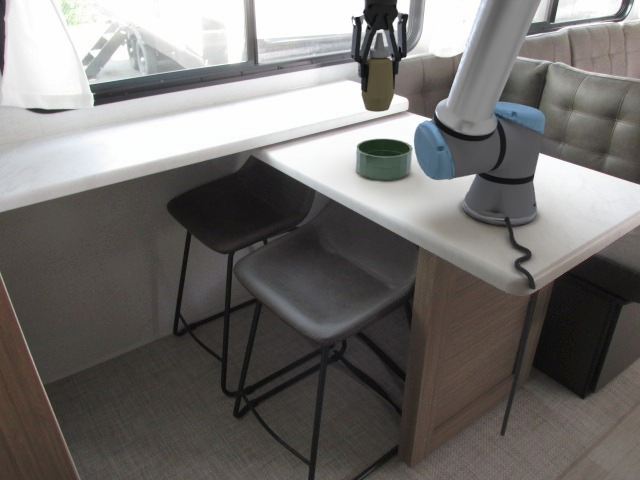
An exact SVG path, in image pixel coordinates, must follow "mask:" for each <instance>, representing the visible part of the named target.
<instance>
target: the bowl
mask: <svg viewBox="0 0 640 480" xmlns="http://www.w3.org/2000/svg"><path fill="white" fill-rule="evenodd" d="M413 150H414V147H413V146H412V145H411V144H410V143H408V142H405V141H403V140H399V139H393V138H373V139H366V140H363V141H361V142H359V143H357V144H356V147H355V170H356V172H357V173H359V175H360V176H361V177H363V178H366V179H369V180H372V181H382V182H388V181H389V182H391V181H396V180H401V179H403V178H405V177H406V176H408V175H409V174H410V173H411V170H412V163H413V162H412V161H413V152H414V151H413Z"/></svg>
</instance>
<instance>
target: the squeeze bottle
mask: <svg viewBox="0 0 640 480" xmlns="http://www.w3.org/2000/svg"><path fill="white" fill-rule="evenodd" d="M375 36H376V37H375V40H374V45H373V47H372V48H370V51H369V54H368V57H367V61H366V63H367V64H369V77H368V85H367V92H364V91H362V90H361V98H362V102H363V105H364V108H365V110H366V111H369V112H374V113H375V112H376V113H380V112H385V111H386V112H387V111H388V110H389V109H390V107H391V104H392V101H393V99H394V96H395V91H394V90H395V89H393V69H392V59H391V57H390V58H389V55H390V51H389V48H387V47H386V48H385V42H384V36H383V32H376V35H375Z"/></svg>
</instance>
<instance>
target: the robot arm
mask: <svg viewBox="0 0 640 480" xmlns="http://www.w3.org/2000/svg"><path fill="white" fill-rule="evenodd" d="M363 2H364V3H363V4H364V9H363V11H362V13H360V14H358V15H352V16H351V23H352V35H351V38H352V39H351V47H350V60H351V61H353V62H354V63H355V62H356V63H357V76H358V77H359V78H360V90H361V92H362V91H364V92H367V85H368V77H369V64H367V63H366V61H367V59H368V58H369V51H370V49H372V44H373V41H374V37H375V36H376V35H377V33H378V32H377V31H383V33H384V35H385V39H386V44H387V48H388V49H389V55H390V59H391V60H392V69H393V89H394V90H395V89H396V87H395V85H396V76H397V75H398V74H399V67H400V62H401V61H402V59H405V58H407V56H408V45H407V44H408V43H407V37H408V36H407V35H408V34H407V33H408V32H407V24H408V21H409V14H408V13H405V12H399V10H398V8H397V7H398V6H397V5H398V0H363ZM541 2H542V0H480V3H479V6H478V8H477V10H476V11H477V12H476V14H475V17H474V20H473V23H472V26H471V29H470V32H469V36H468V38H467V40H466V43H465V48H464V49H463V53H462V56H461V59H460V62H459V65H458V66H457V67H458V68H457V70H456V74H455V76H454V79H453V82H452V85H451V88H450V91H449V94H448V97H447V98H444V99H442V100H441V101H439V102H438V103H437V105H436V107H435V110H434V113H433V115H432V118H431V120H427V119H426V120H423V121H422V122H420V123H419V124H418V125H417V126H416V129H415V131H414V135H413V150H414V153H415V157H416V160H417V163H418V165H419V167H420V169H421V171H422V172H423V173H424V174H425V175H426V176H427V177H428V178H430V179H431V180H432V181H433V180H434V181H444V180H445V181H447V180H449V181H451V180H454V179H457V178H463V177H464V178H465V177H468V176H473V175H475V176H474V178H473V180H472V183H471V185H470V187H469V189H468V191H467V192H466V194H465V196H464V198H463V205H462V208H463V209H462V210H463V211H464V213H466V215H468V216H469V217H471V218H473V219H475V220H476V221H479V222H482V223H485V224H489V225H495V226H504V227H506V228H507V230H508V231H507V232H508V236H509V241H510V244H512V246H513V247H515V249H518V250H519V251H521V252H524V253H526V254H525V255H523V256H520V257H517V259H516V260H515V261H514V267H515V268H516V269H517V270H518V271H519V272H520V273H522V274H523V275H525V277H526V278H527V281H528V285H529V288H530V289H531V290H532V291H533V290H536V283H535V280H534V277H533V276H532V273H530V272H529V270H527V269H526V268H524V267H523V266H522V265H521V264H520V263H522V262H525V261H528V260H530V259H531V258H532V256H533V253H532V251H531V250H530V249H529V248H527V247H525V246H523V245H521V244H520V243H518V242H517V241H516V238H515V235H514V230H513V226H514V227H516V226H521V225H526V224H528V223H530V222H532V221H533V220H535V218H536V214H537V210H538V205H537V200H536V192H535V191H536V190H535V184H534V181H535V174H536V169H537V165H538V161H539V157H540V152H541V149H542V143H543V138H544V135H545V125H546V115H545V114H544V112H542V111H541V110H540V109H538V108H535V107H532V106H528V105H525V104H520V103H515V102H508V101H500V98H501V96H502V93H503V91H504V89H505V87H506V84H507V81H508V80H509V77H510V75H511V72H512V70H513V68H514V65H515V63H516V60H517V59H518V56H519V53H520V52H521V48H522V46H523V44H524V42H525V40H526V37H527V35H528V32H529V30H530V28H531V25H532V23H533V21H534V19H535V17H536V14H537V12H538V9H539V7H540V5H541ZM395 21H396V23H397V24H396V31H397V32H396V33H397V39H396V36H395V28H394V27H395V26H394V22H395ZM364 22H365V23H366V28H365V30H364V31H365V34H364V37H363V40H362V33H363V25H364ZM361 43H362V45H361ZM534 304H535V299H533V300H530V301H529V300H528V303H527V307H526V311H525V312H526V313H525V319H524V326H523V331H522V338H521V341H520V346H519V353H518V357H517V362H516V367H515V370H514V376H513V380H512V382H511V383H512V384H511V386H510V391H509V395H508V399H507V402H506V403H507V404H506V406H505V412H504V415H503V419H502V424H501V428H500V433H499V434H500V436H501V437H504V436H506V435H505V434H506V431H507V426H508V423H509V418H510V414H511V410H512V406H513V402H514V398H515V395H516V390H517V387H518V382H519V379H520V374H521V371H522V366H523V361H524V357H525V353H526V347H527V342H528V336H529V333H530V332H529V330H530V324H531V318H532V314H533V308H534Z"/></svg>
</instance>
